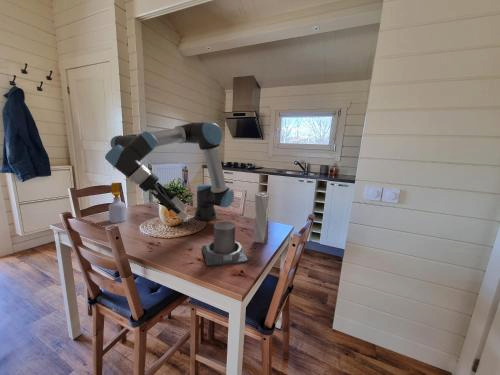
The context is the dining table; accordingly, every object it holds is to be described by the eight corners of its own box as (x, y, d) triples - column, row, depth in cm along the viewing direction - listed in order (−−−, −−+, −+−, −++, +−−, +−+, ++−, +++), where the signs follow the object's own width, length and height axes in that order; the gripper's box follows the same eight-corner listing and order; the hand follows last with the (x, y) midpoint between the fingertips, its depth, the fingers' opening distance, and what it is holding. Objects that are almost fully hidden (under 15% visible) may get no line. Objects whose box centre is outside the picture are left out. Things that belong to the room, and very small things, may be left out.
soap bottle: (110, 224, 127) (107, 184, 123) (108, 219, 134) (105, 181, 130) (127, 221, 133) (125, 183, 128) (125, 217, 140) (122, 180, 135)
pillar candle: (225, 245, 105) (225, 217, 102) (239, 253, 99) (239, 222, 96) (209, 252, 98) (209, 222, 95) (223, 260, 91) (223, 228, 89)
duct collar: (202, 247, 104) (202, 240, 103) (237, 244, 110) (237, 236, 109) (206, 267, 87) (206, 258, 87) (248, 262, 93) (248, 253, 92)
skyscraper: (266, 245, 110) (270, 192, 105) (251, 243, 111) (254, 191, 106) (268, 238, 118) (271, 189, 113) (253, 236, 120) (256, 188, 114)
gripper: (142, 180, 96) (177, 209, 104) (132, 192, 73) (179, 229, 81) (154, 168, 97) (188, 198, 105) (148, 177, 74) (193, 215, 82)
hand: (184, 212), depth 93 cm, fingers open, 13 cm apart
